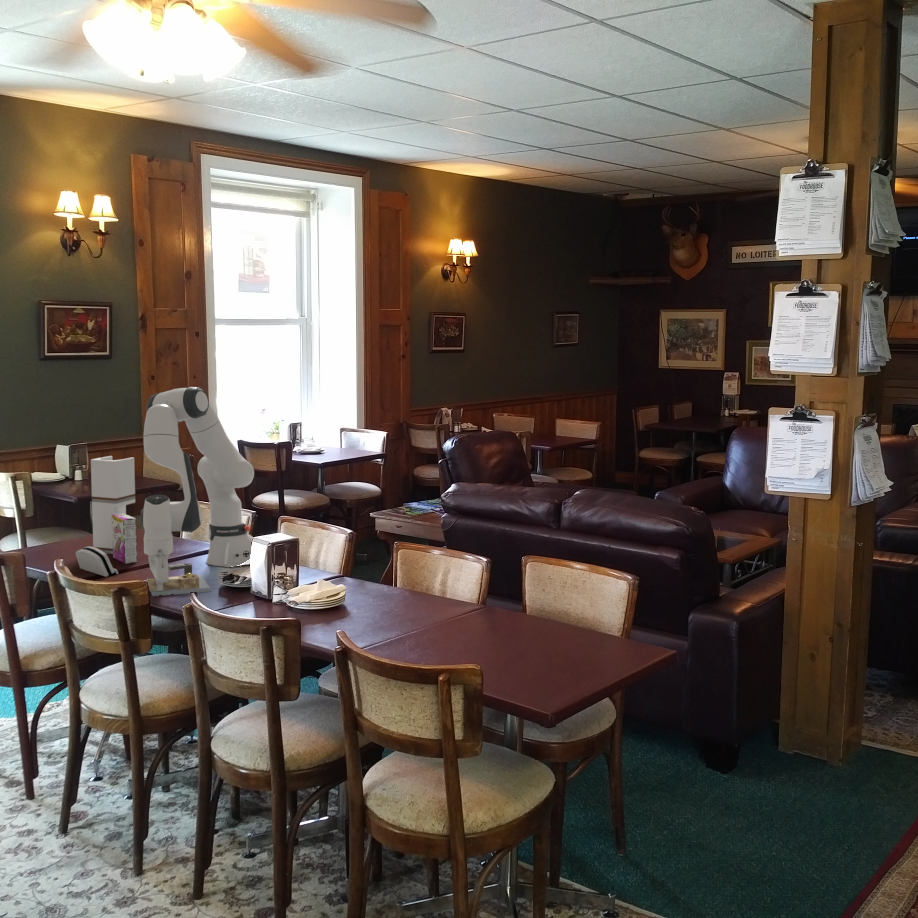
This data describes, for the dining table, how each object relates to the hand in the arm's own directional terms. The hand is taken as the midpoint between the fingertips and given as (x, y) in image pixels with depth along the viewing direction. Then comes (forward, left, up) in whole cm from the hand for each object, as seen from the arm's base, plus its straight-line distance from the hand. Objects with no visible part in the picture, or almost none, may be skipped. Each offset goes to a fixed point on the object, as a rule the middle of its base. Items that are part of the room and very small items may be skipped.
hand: (159, 589), depth 315 cm
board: (-7, -8, -2) cm, 11 cm away
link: (-4, -4, -1) cm, 6 cm away
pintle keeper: (-8, -9, -2) cm, 13 cm away
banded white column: (+8, -69, -2) cm, 70 cm away
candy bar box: (+6, -51, -2) cm, 52 cm away
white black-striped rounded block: (+17, -38, -2) cm, 41 cm away
